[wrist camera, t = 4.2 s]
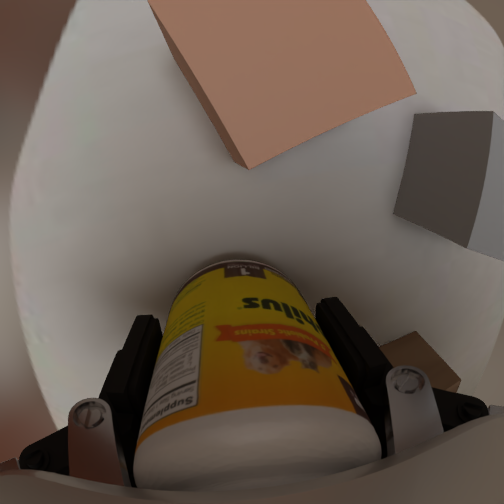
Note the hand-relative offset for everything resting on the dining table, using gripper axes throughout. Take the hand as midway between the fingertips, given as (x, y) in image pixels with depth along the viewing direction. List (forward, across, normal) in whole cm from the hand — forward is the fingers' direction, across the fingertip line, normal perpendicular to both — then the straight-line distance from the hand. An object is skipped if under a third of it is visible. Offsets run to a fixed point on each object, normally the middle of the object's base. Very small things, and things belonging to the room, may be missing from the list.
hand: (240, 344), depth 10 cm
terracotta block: (+3, -2, -10) cm, 10 cm away
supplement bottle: (+2, 0, 0) cm, 2 cm away
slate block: (+3, -11, -6) cm, 12 cm away
